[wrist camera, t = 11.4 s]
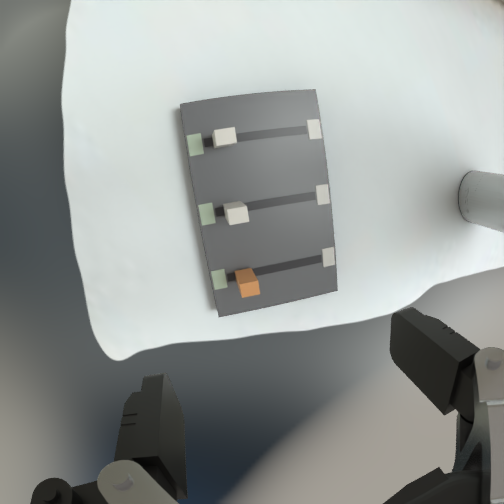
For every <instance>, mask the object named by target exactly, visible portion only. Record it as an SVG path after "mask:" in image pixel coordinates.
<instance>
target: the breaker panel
mask: <svg viewBox="0 0 504 504" xmlns="http://www.w3.org/2000/svg"><path fill="white" fill-rule="evenodd" d="M180 108H181V115H182V122H183V128H184V135H185V141H186V147H187V154H188V160H189V166H190V172H191V177H192V183H193V189H194V195H195V200H196V206H197V211H198V217H199V222H200V227H201V233H202V238H203V243H204V248H205V253H206V258H207V263H208V268H209V273H210V278H211V283H212V288H213V292H214V297H215V302H216V306H217V311H218V315H219V317H223V316H228V315H233V314H237V313H242V312H247V311H252V310H256V309H261V308H266V307H270V306H275V305H279V304H284V303H288V302H292V301H297V300H301V299H305V298H309V297H314V296H318V295H322V294H326V293H330V292H334V291H338V289H337V270H336V255H335V241H334V229H333V218H332V207H331V197H330V188H329V179H328V170H327V162H326V155H325V147H324V140H323V133H322V126H321V120H320V113H319V107H318V101H317V95H316V89H312V90H291V91H277V92H264V93H254V94H245V95H236V96H228V97H221V98H214V99H207V100H201V101H195V102H189V103H183V104H180ZM247 268H252V270H253V272H254V274H255V276H256V278H257V279H258V283H259V289H260V294H259V295H254V296H249V297H244V298H242V296H241V294H240V291H239V288H238V285H237V281H236V276H235V271H237V270H242V269H247Z"/></svg>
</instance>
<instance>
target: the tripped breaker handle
mask: <svg viewBox="0 0 504 504" xmlns="http://www.w3.org/2000/svg"><path fill="white" fill-rule="evenodd" d="M235 276H236V281H237V285H238V288H239V291H240V294H241V296H242V298H244V297H249V296H254V295H259V294H260V289H259V283H258V279H257V278H256V276H255V274H254V272H253V270H252V268H247V269H242V270H237V271H235Z"/></svg>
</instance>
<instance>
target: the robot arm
mask: <svg viewBox="0 0 504 504" xmlns="http://www.w3.org/2000/svg"><path fill="white" fill-rule="evenodd" d="M459 207H460V211H461V213H462V215H463V217H464V218H465V219H466V220H467V221H469V222H471V223H474V224H478V225H481V226H484V227H487V228H491V229H494V230H497V231H500V232H503V233H504V175H502V174H495V173H488V172H480V171H471V172H469V173H468V174H467V175H466V176H465V177H464V179H463V181H462V183H461V186H460V190H459ZM390 354H391V357H392V359H393V361H394V363H395V364H396V365H397V366H398V367H399V368H400V369H401V370H402V371H403V372H404V373H405V374H406V375H407V377H408V378H409V379H410V380H411V381H412V382H413V383H414V384H415V385H416V386H417V387H418V388H419V389H420V390H421V391H422V392H423V393H424V394H425V395H426V396H427V398H428V399H429V400H430V401H431V402H432V403H433V404H434V405H435V406H436V407H437V408H438V409H439V410H440V411H441V412H442V413H443V415H446V414H448V413H449V412H451V411H453V410H454V409H456V410H457V411H458V415H457V423H456V453H455V462H454V466H453V469H452V472H451V473H447V474H444V473H443V472H442V470H441V469H440V468H439V467H438V468H436V469H435V470H433V471H431V472H429V473H428V474H426V475H424V476H422V477H421V478H419V479H417V480H415V481H413V482H411V483H409V484H407V485H406V486H405V487H404V488H403V489H401V490H400V491H399V492H397V493H396V494H395V495H394V496H392V497H391V498H390V499H388V500H387V501H386V502H385V503H383V504H504V350H502V349H500V348H495V347H488V348H484V349H481V350H480V349H479V348H478V347H476V346H475V345H474V344H472V343H471V342H470V341H468V340H467V339H465V338H464V337H463V336H461V335H460V334H458V333H457V332H456V333H455V331H454V330H453V329H451V328H450V327H448V326H447V325H446V324H444V323H443V322H442V321H440V320H439V319H436V318H433V317H430V316H427V315H423V314H422V313H420V312H419V311H418V310H416V309H415V308H413V307H410V308H407V309H404V310H401V311H399V312H396V313H394V314H393V315H392V318H391V336H390ZM184 428H185V427H184V416H183V412H182V408H181V406H180V403H179V401H178V398H177V396H176V393H175V391H174V389H173V387H172V384H171V382H170V379H169V377H168V375H167V373H160V374H154V375H149V376H144V378H143V383H142V389H141V392H134V393H132V394H131V396H130V397H129V398H128V400H127V401H126V403H125V405H124V410H123V417H122V420H121V427H120V430H119V435H118V441H117V446H116V452H115V458H114V462H113V463H111V464H109V465H107V466H106V467H105V468H104V469H103V470H102V471H101V472H100V474H99V476H98V480H97V481H94V482H91V483H87V484H83V485H79V486H75V487H71V486H70V485H69V484H68V483H67V482H66V481H64V480H62V479H59V478H49V479H46V480H44V481H43V482H41V483H39V484H38V485H37V487H36V488H35V490H34V492H33V495H32V499H31V503H30V504H179V503H177V499H187V498H188V496H187V479H186V460H185V431H184V430H185V429H184Z"/></svg>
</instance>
